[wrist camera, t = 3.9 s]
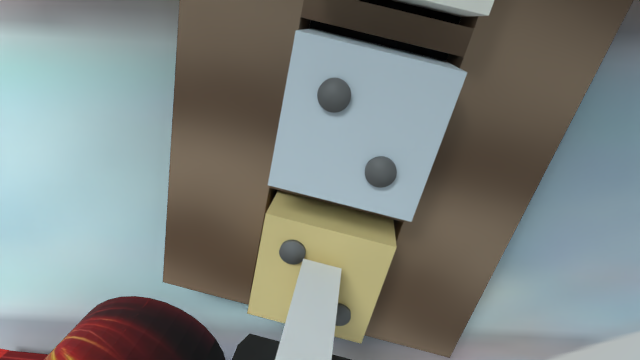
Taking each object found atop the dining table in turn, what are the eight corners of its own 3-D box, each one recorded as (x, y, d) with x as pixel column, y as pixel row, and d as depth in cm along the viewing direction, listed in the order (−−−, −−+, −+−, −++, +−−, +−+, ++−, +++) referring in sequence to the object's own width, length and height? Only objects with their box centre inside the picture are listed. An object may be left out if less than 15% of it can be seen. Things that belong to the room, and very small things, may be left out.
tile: (285, 177, 17) (264, 216, 14) (391, 204, 17) (396, 250, 14) (267, 264, 19) (245, 316, 16) (362, 289, 19) (361, 347, 16)
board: (230, -253, 12) (198, -317, 10) (662, -153, 12) (733, -196, 9) (186, 252, 20) (162, 281, 18) (440, 318, 20) (449, 357, 18)
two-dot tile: (312, 28, 14) (294, 30, 10) (444, 60, 14) (469, 73, 10) (288, 151, 16) (266, 187, 13) (402, 181, 16) (411, 225, 12)
